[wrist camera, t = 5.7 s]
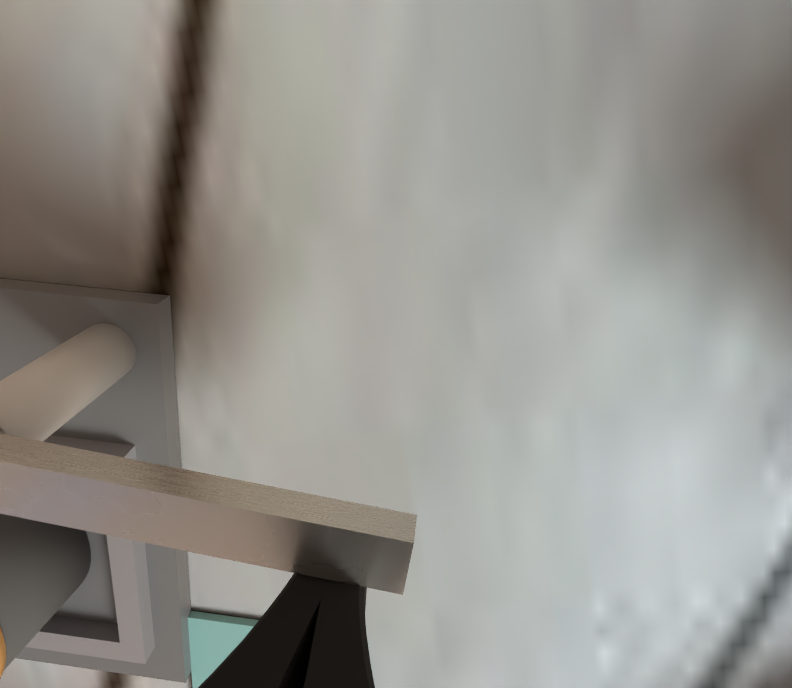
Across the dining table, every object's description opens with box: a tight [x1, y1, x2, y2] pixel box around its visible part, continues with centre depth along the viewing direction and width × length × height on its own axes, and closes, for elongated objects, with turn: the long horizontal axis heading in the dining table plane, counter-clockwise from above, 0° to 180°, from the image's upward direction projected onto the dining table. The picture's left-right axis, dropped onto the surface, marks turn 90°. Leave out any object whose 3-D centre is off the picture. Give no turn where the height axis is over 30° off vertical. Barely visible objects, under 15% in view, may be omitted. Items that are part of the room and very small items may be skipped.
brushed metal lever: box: [0, 427, 417, 595], centre depth 12 cm, size 10×2×1 cm, turn 81°
